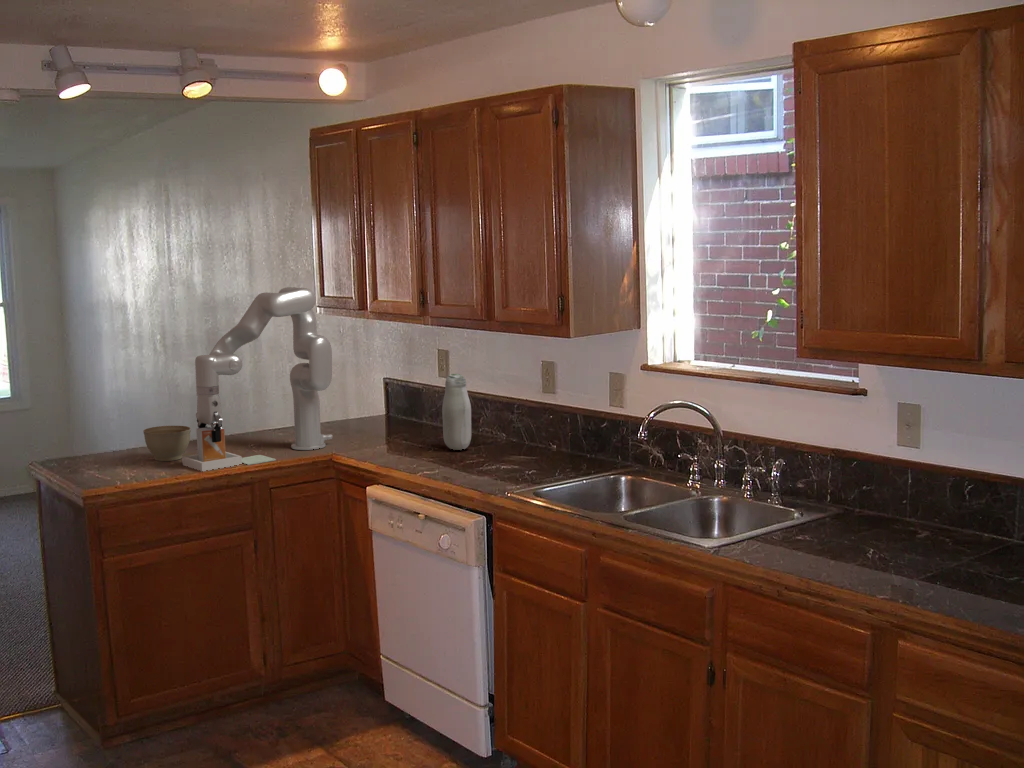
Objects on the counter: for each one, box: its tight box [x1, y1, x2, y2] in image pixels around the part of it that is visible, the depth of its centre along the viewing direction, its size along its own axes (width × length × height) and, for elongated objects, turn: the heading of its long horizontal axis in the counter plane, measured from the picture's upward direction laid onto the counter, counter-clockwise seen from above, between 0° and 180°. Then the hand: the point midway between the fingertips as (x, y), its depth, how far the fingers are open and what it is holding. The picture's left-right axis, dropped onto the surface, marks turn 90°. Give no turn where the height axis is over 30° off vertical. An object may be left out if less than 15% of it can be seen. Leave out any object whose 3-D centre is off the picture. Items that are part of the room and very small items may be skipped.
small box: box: [195, 426, 226, 462], centre depth 374 cm, size 8×6×13 cm
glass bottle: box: [441, 373, 472, 451], centre depth 391 cm, size 10×10×28 cm
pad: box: [241, 454, 277, 466], centre depth 381 cm, size 11×11×1 cm
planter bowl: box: [143, 425, 192, 462], centre depth 385 cm, size 16×16×11 cm
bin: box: [181, 451, 243, 472], centre depth 374 cm, size 15×15×3 cm
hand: (209, 440), depth 373 cm, fingers open, 9 cm apart
